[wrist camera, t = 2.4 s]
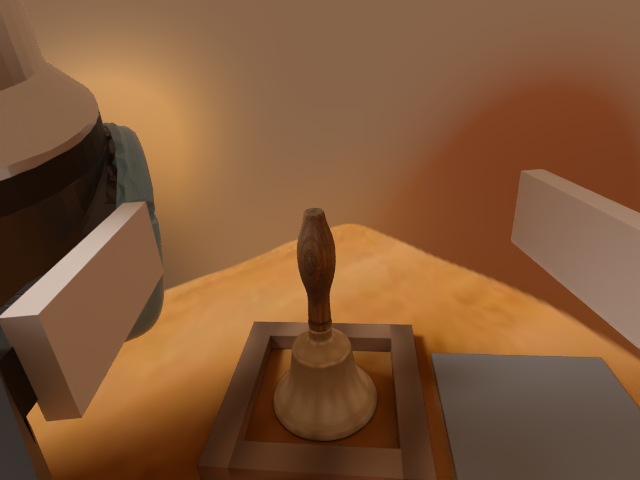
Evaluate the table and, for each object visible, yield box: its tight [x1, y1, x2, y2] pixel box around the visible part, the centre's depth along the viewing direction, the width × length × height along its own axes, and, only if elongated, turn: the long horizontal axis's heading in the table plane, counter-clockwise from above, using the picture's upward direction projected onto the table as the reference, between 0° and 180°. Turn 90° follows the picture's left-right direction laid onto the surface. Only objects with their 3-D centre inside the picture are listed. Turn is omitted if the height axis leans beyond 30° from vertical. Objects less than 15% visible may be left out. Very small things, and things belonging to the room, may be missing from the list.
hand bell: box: [273, 208, 377, 441], centre depth 29 cm, size 8×8×16 cm
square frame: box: [198, 322, 437, 480], centre depth 32 cm, size 15×15×2 cm
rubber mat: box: [431, 353, 640, 480], centre depth 29 cm, size 14×14×1 cm
